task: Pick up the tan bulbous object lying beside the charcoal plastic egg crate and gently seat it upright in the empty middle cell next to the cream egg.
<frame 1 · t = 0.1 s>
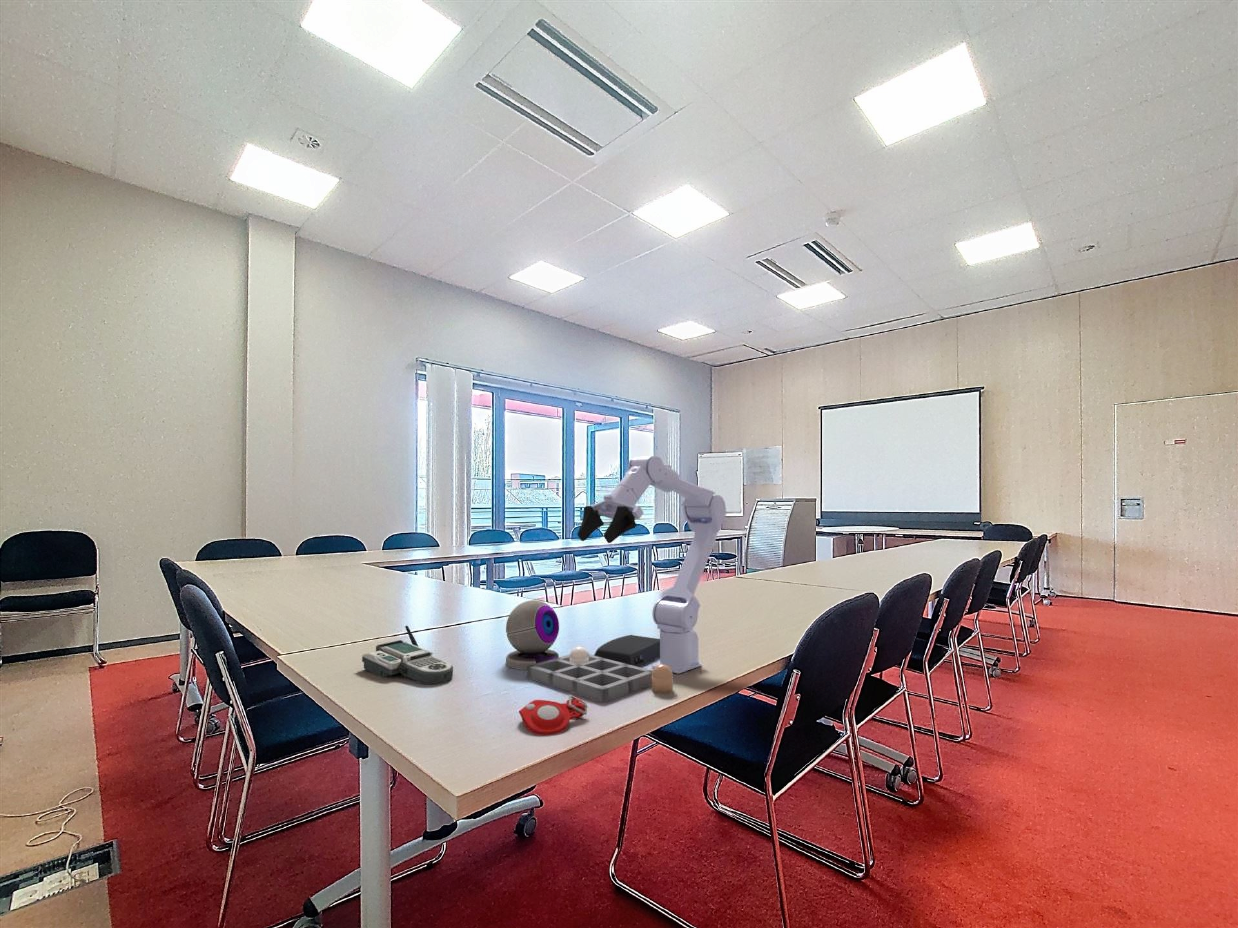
hand: (593, 538, 119), 32 cm above the table, tool tilted 50°, fingers open, 7 cm apart
tan bulbous object: (662, 690, 121), on the table
egg crate: (590, 680, 128), on the table
communication device: (411, 676, 133), on the table
cream egg: (579, 670, 136), resting in egg crate
tracker holder: (555, 726, 103), on the table
webcam: (532, 662, 143), on the table
external hard drive: (630, 659, 147), on the table
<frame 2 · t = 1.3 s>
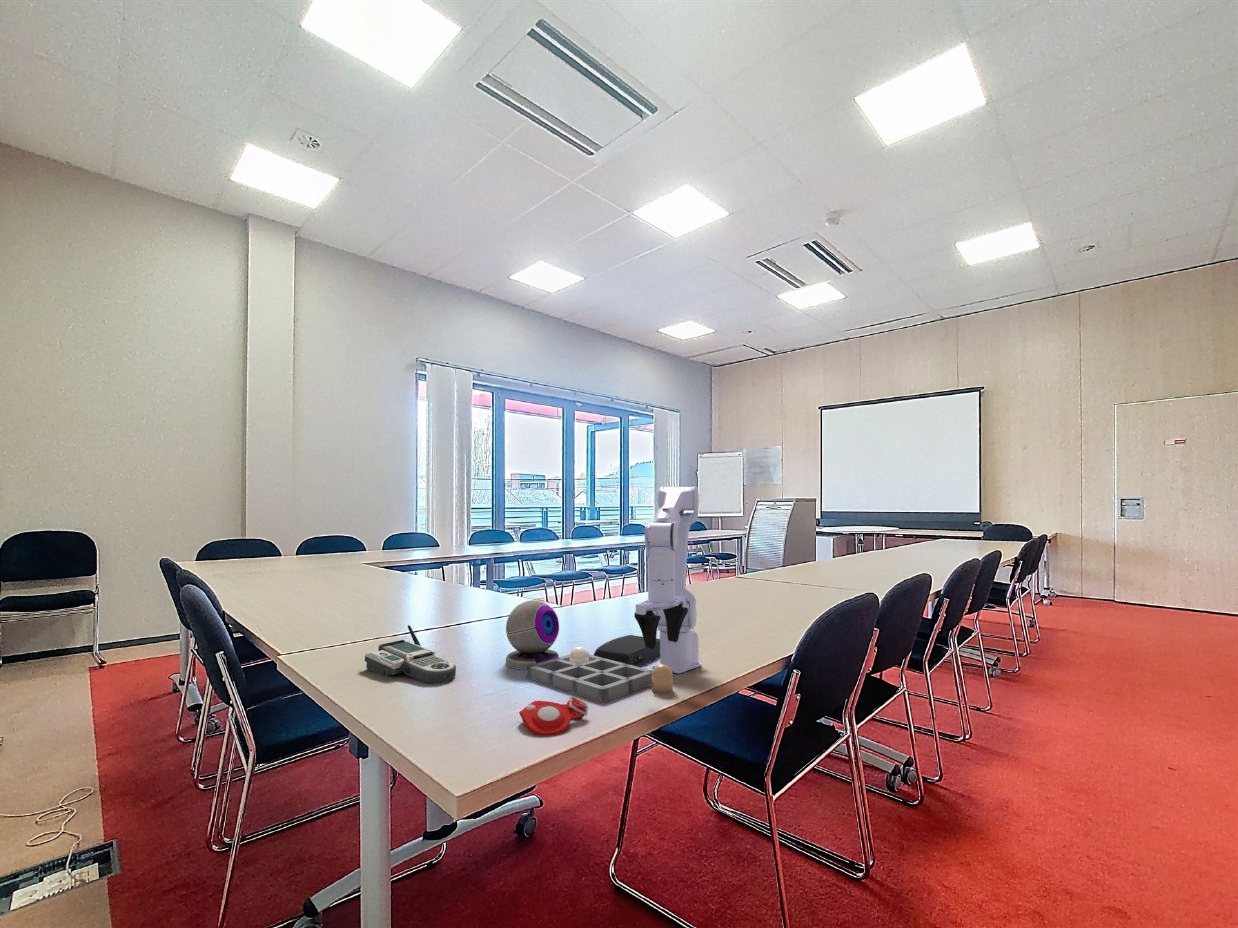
hand: (661, 644, 122), 9 cm above the table, tool pointing down, fingers open, 7 cm apart
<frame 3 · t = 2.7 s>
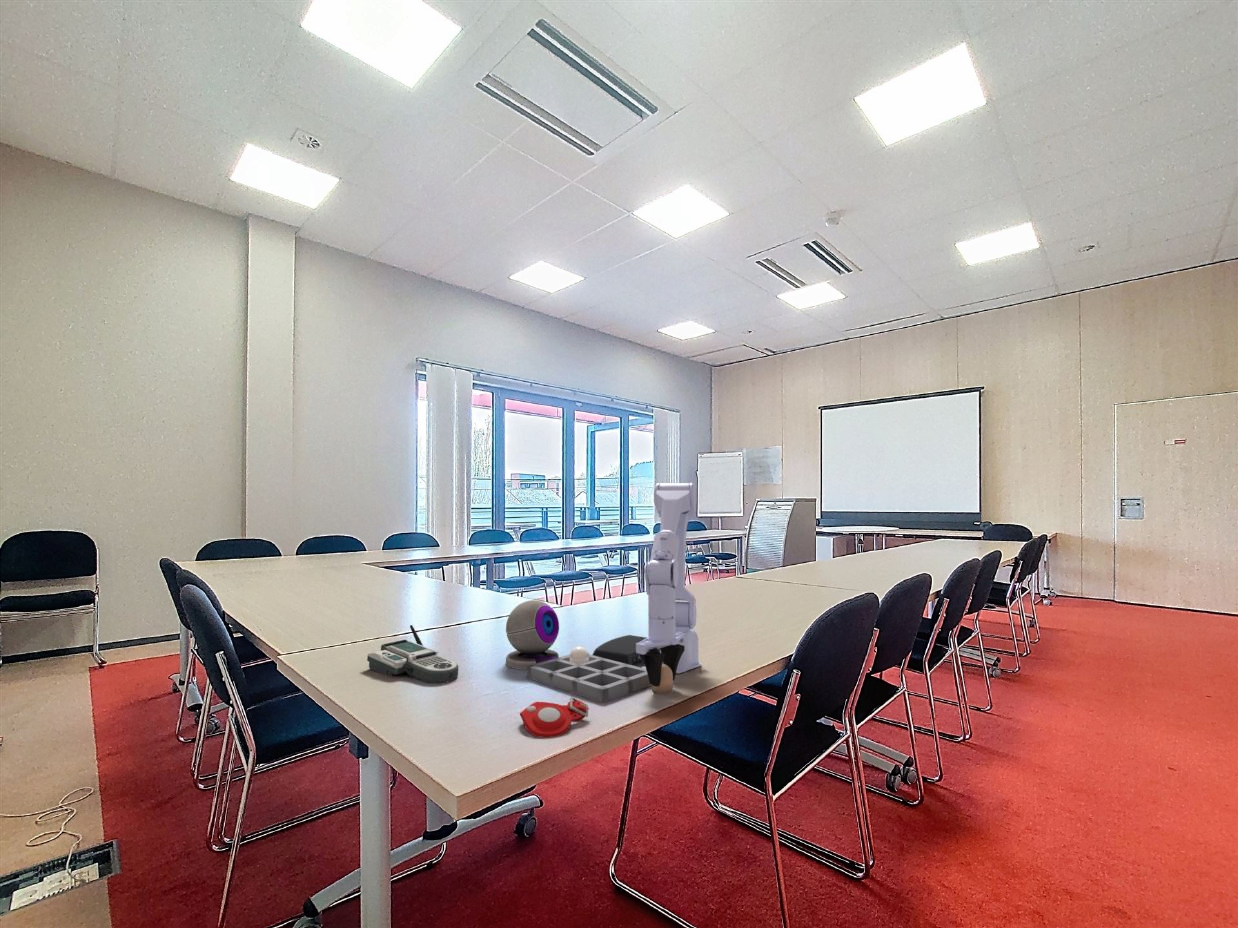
hand: (662, 682, 121), 2 cm above the table, tool pointing down, fingers closed on tan bulbous object, 4 cm apart
tan bulbous object: (662, 690, 121), on the table, touching gripper
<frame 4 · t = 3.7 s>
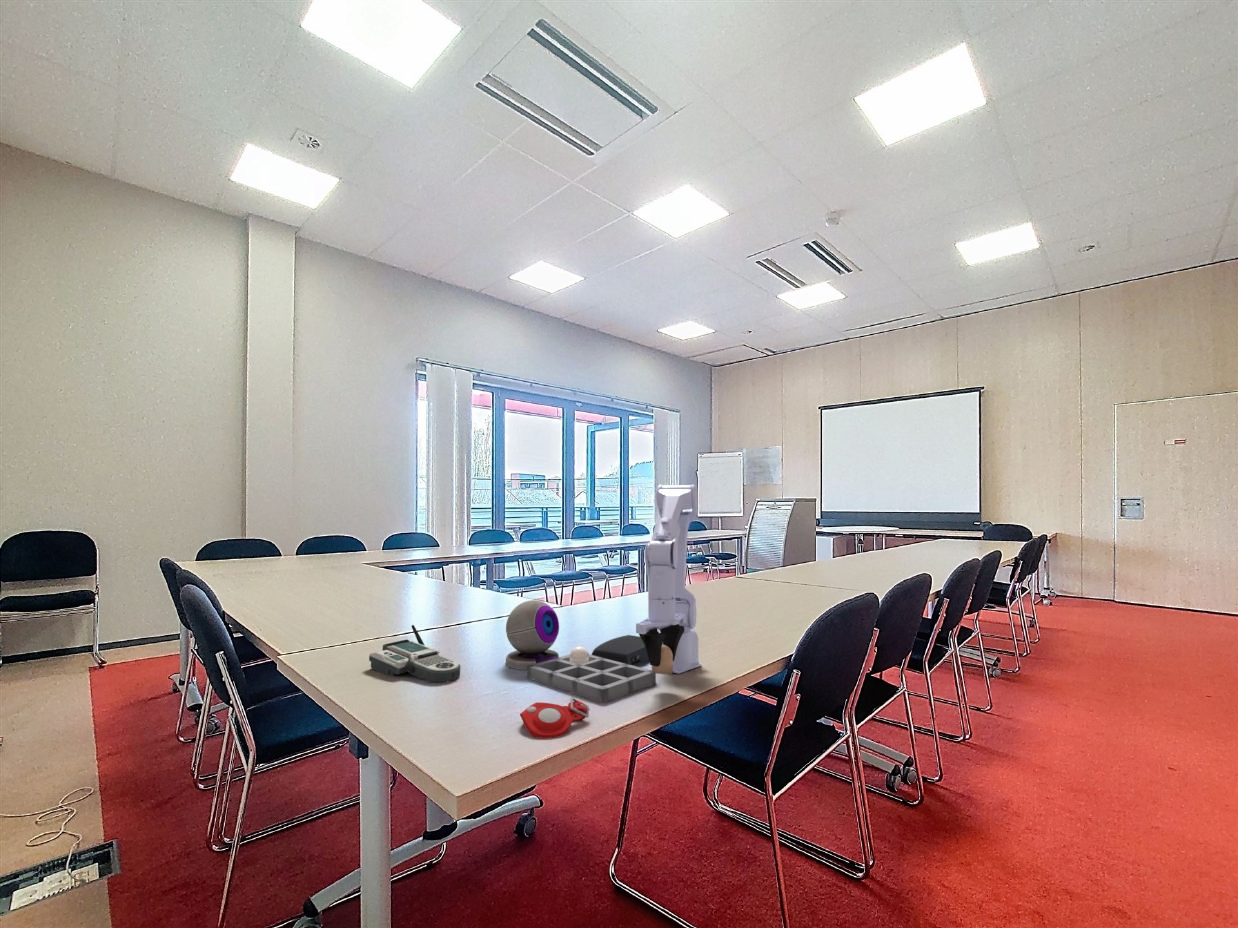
hand: (662, 662, 122), 6 cm above the table, tool pointing down, fingers closed on tan bulbous object, 4 cm apart
tan bulbous object: (662, 670, 121), point 4 cm above the table, touching gripper
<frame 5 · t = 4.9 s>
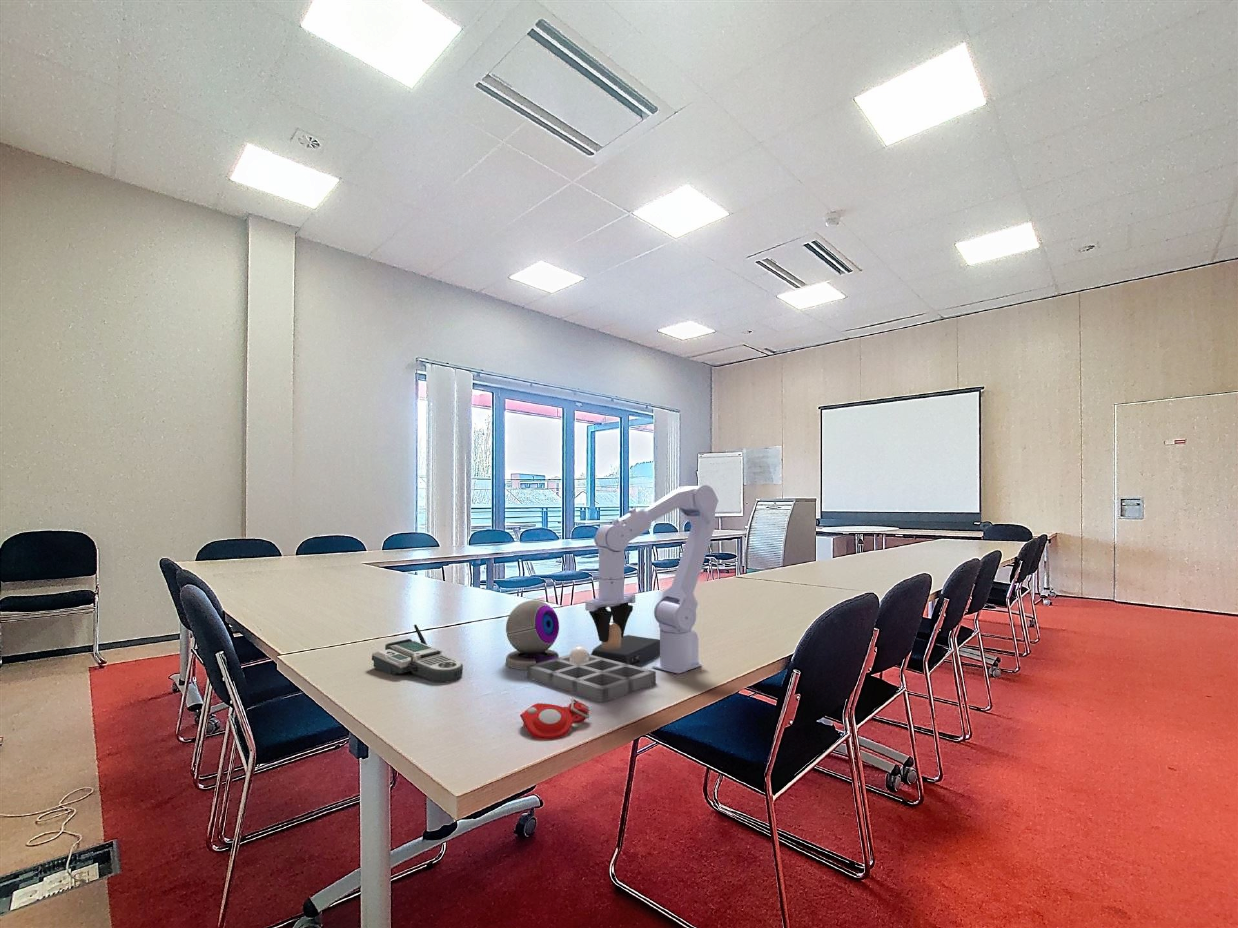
hand: (611, 639, 130), 9 cm above the table, tool pointing down, fingers closed on tan bulbous object, 4 cm apart
tan bulbous object: (611, 646, 129), point 7 cm above the table, touching gripper
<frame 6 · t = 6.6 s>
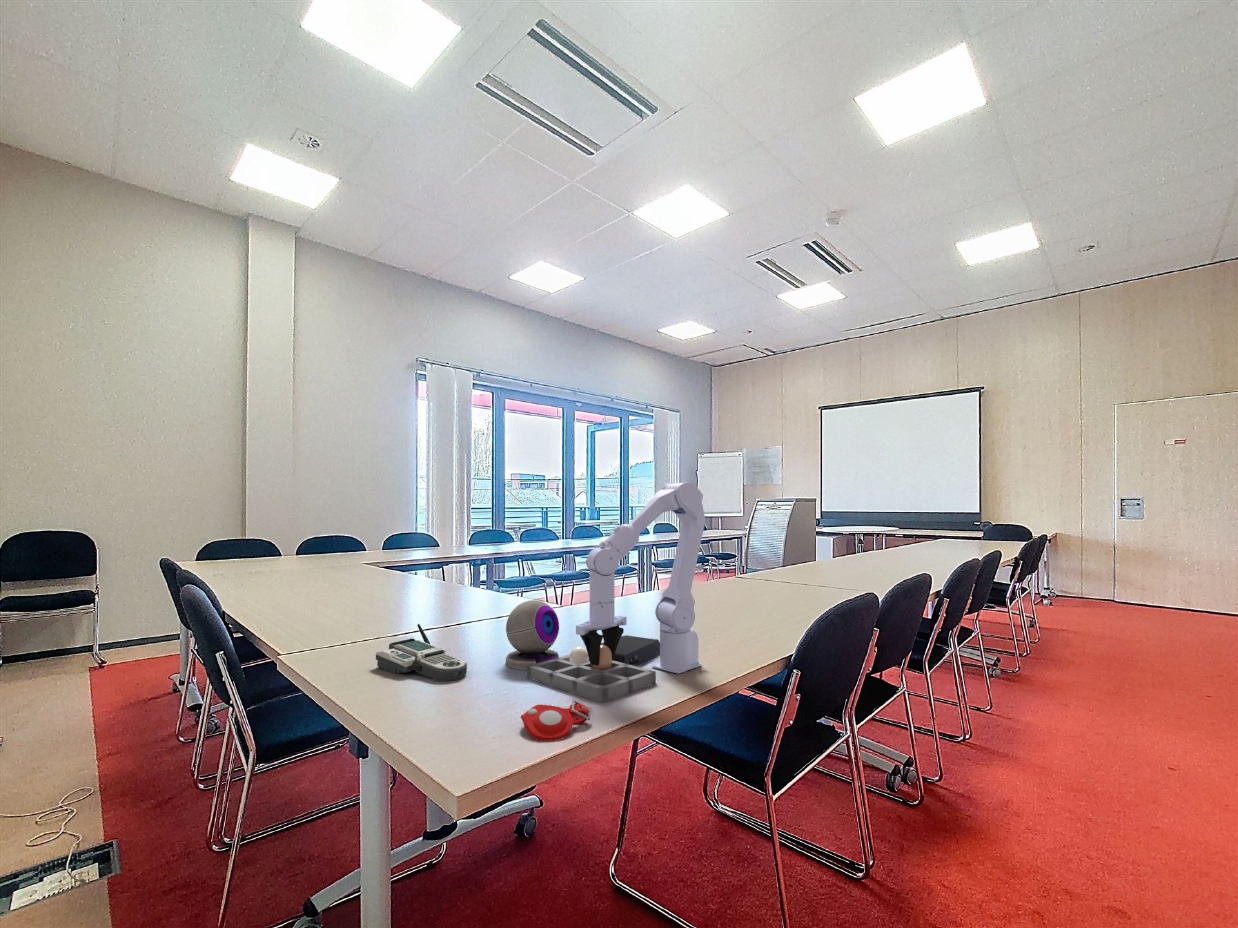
hand: (602, 661, 131), 3 cm above the table, tool pointing down, fingers closed on tan bulbous object, 4 cm apart
tan bulbous object: (602, 669, 131), point 2 cm above the table, touching gripper
when the fingers open (3 cm above the table, at t = 6.6 s): tan bulbous object drops 2 cm, resting in egg crate.
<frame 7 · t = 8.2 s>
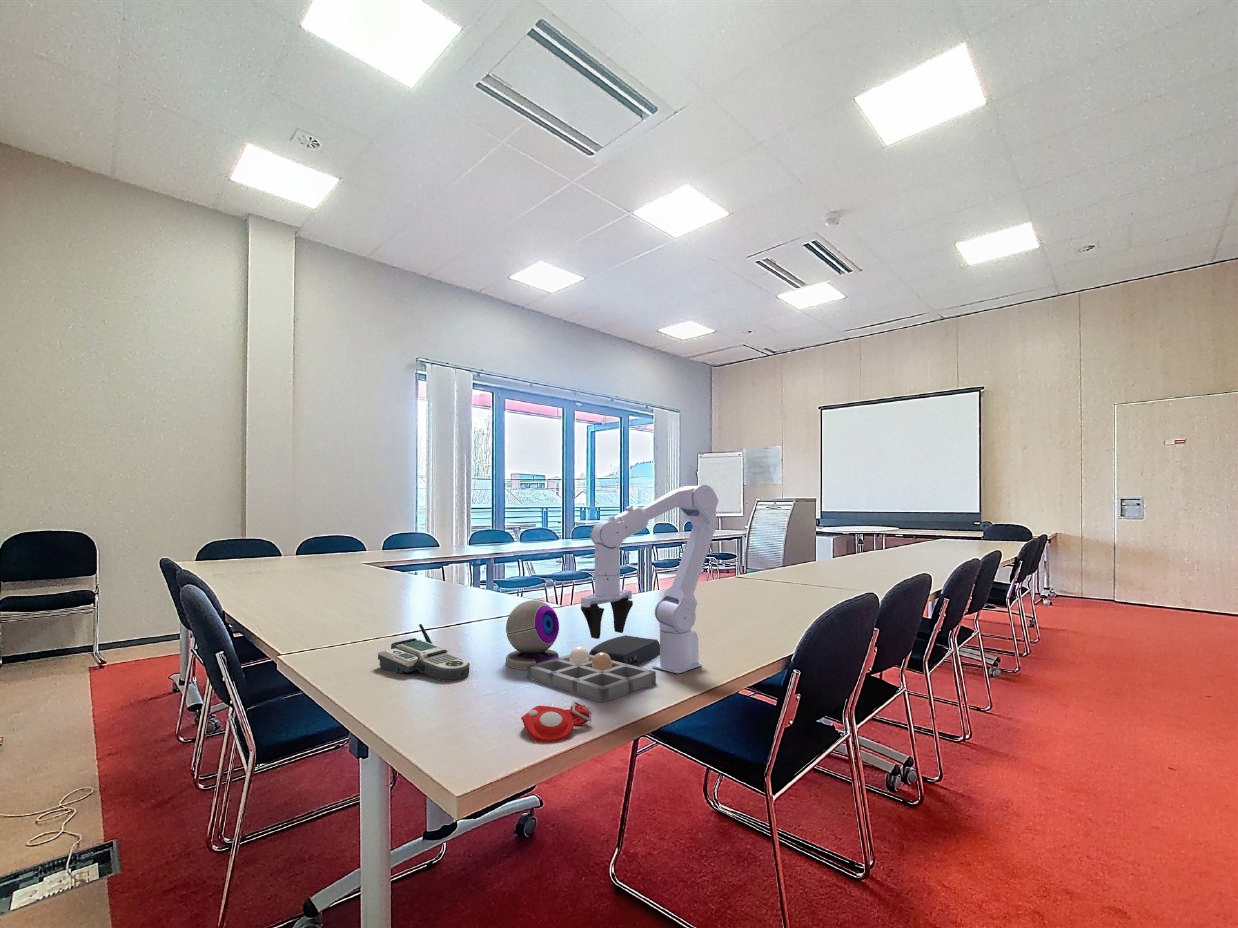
hand: (607, 634, 131), 9 cm above the table, tool pointing down, fingers open, 7 cm apart
tan bulbous object: (601, 676, 131), resting in egg crate
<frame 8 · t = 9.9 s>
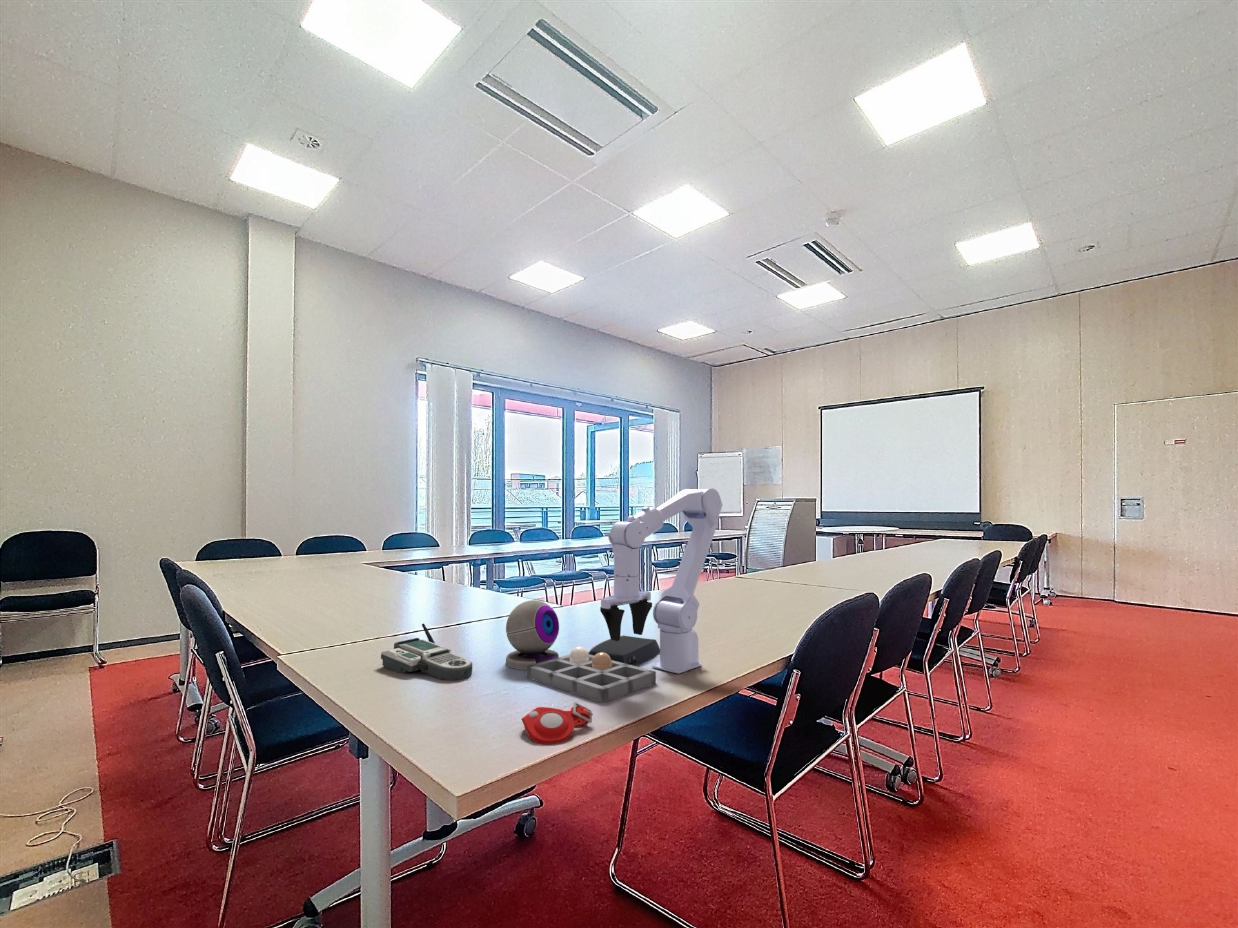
hand: (626, 637, 129), 9 cm above the table, tool pointing down, fingers open, 7 cm apart
at the end: tan bulbous object 0.1 cm from the target spot, resting in egg crate; tan bulbous object tilted 0°; the gripper is holding nothing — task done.
